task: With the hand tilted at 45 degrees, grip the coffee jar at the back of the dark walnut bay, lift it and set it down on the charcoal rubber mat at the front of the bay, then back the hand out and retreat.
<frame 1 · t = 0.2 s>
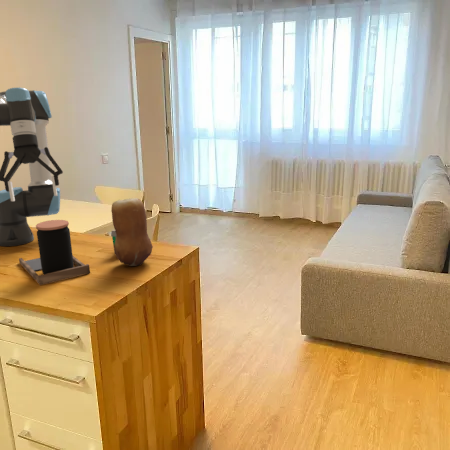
hand: (34, 198, 150), 27 cm above the countertop, tool tilted 15°, fingers open, 13 cm apart
bay: (53, 267, 163), on the countertop
front mat: (53, 267, 163), on the countertop
coffee jar: (58, 272, 158), resting in bay
food container: (126, 251, 180), on the countertop
butternut squash: (134, 265, 164), on the countertop
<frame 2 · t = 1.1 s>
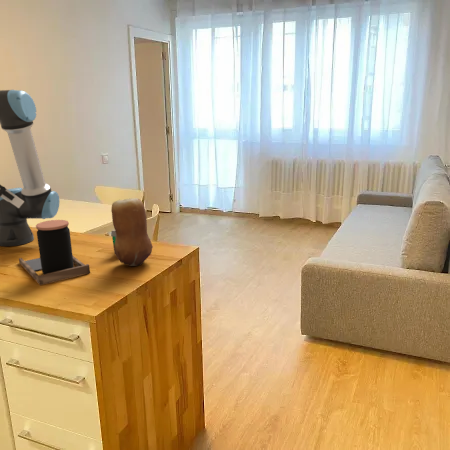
hand: (15, 201, 145), 27 cm above the countertop, tool tilted 45°, fingers open, 13 cm apart
nothing on the countertop moved.
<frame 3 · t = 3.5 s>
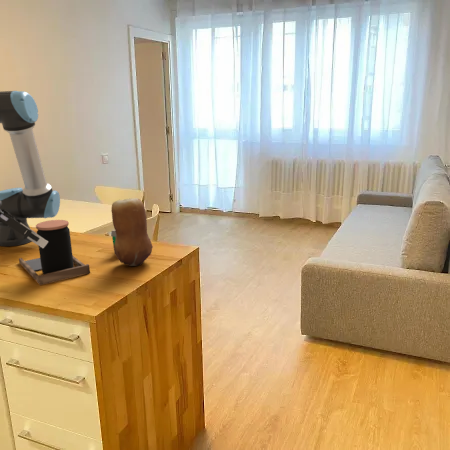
hand: (39, 240, 151), 13 cm above the countertop, tool tilted 45°, fingers open, 13 cm apart
nothing on the countertop moved.
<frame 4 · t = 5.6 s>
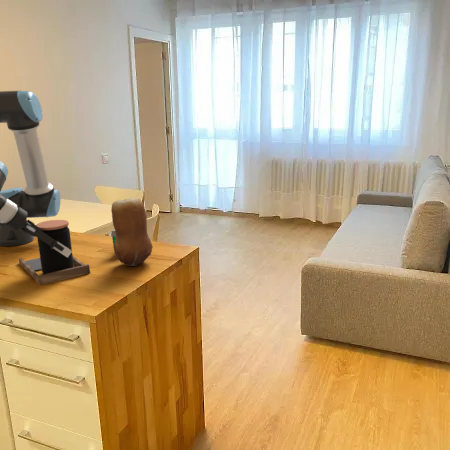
hand: (64, 250, 158), 8 cm above the countertop, tool tilted 45°, fingers closed on coffee jar, 11 cm apart
coffee jar: (58, 272, 158), resting in bay, touching gripper
everything else where it was.
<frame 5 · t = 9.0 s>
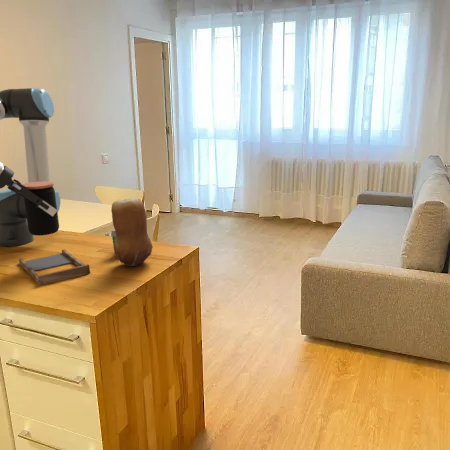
hand: (49, 210, 164), 20 cm above the countertop, tool tilted 45°, fingers closed on coffee jar, 11 cm apart
coffee jar: (44, 232, 165), point 12 cm above the countertop, touching gripper
everything else where it was.
when the fingers open (10 cm above the countertop, at t = 12.2 s): coffee jar drops 1 cm, resting on front mat.
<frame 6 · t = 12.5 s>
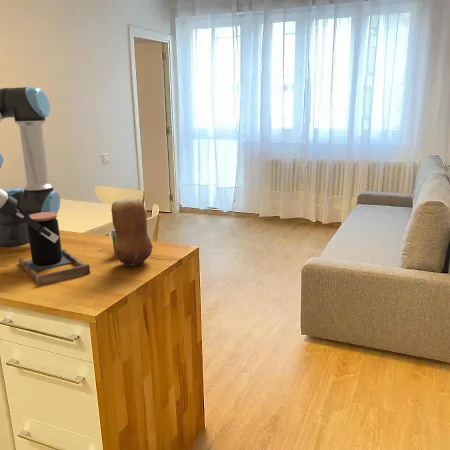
hand: (51, 235, 167), 10 cm above the countertop, tool tilted 45°, fingers open, 13 cm apart
coffee jar: (47, 262, 168), resting on front mat
everything else where it was.
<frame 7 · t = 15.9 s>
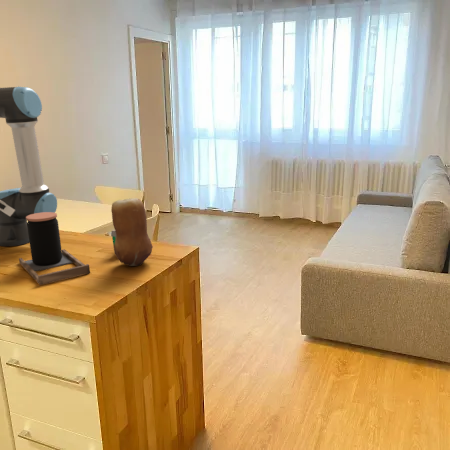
hand: (7, 209, 156), 23 cm above the countertop, tool tilted 45°, fingers open, 13 cm apart
nothing on the countertop moved.
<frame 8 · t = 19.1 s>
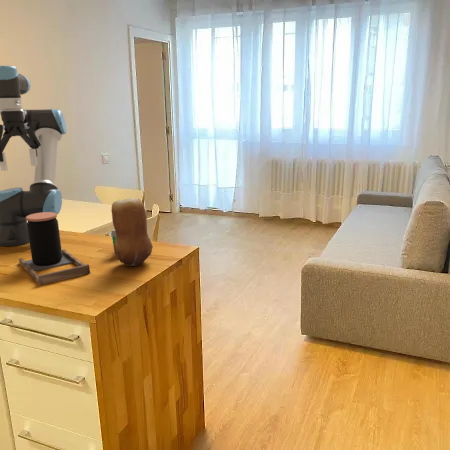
hand: (19, 168, 169), 35 cm above the countertop, tool pointing down, fingers open, 13 cm apart
nothing on the countertop moved.
at the end: coffee jar inside the target area (0.1 cm from its centre), resting on front mat; coffee jar tilted 0°; the gripper is holding nothing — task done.
